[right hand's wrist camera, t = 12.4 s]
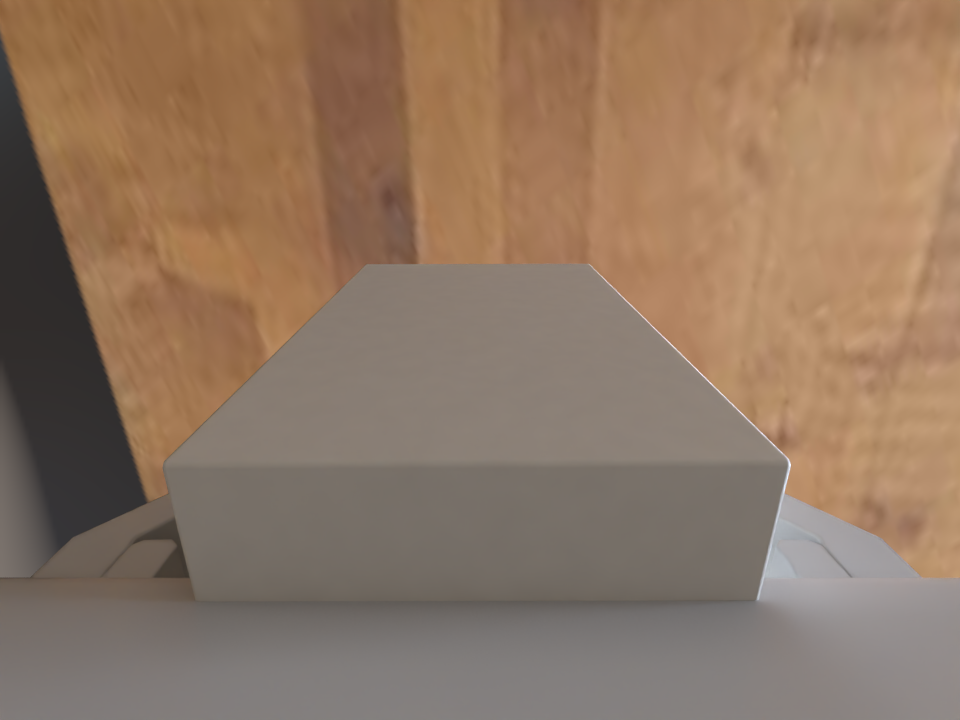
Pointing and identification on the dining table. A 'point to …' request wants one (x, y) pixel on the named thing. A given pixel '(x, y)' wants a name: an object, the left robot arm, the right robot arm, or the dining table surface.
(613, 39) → the dining table surface
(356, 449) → the bar
